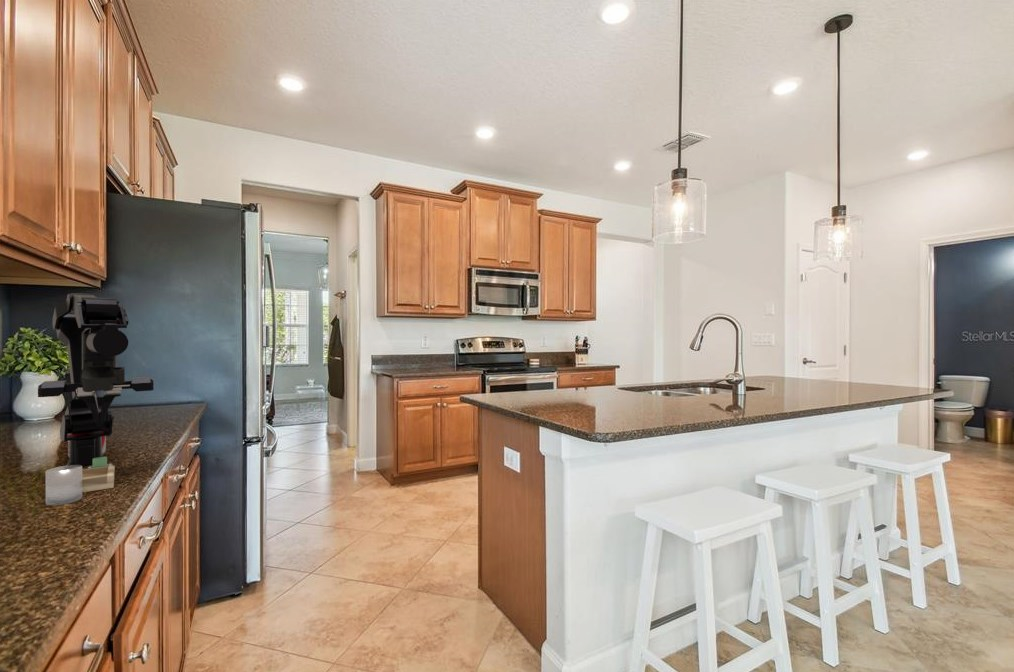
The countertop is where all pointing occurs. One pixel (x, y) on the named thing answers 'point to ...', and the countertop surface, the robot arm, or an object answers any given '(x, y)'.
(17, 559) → the countertop surface
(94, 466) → the button
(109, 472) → the pallet
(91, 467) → the button housing
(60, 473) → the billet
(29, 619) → the countertop surface
